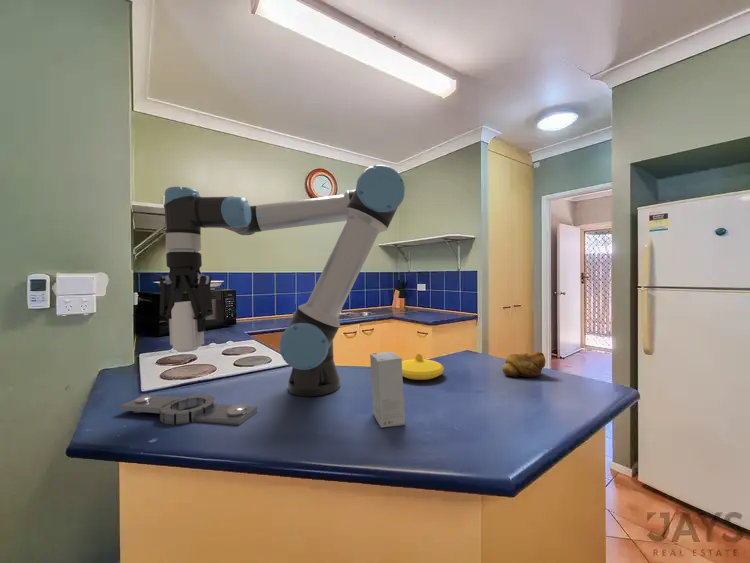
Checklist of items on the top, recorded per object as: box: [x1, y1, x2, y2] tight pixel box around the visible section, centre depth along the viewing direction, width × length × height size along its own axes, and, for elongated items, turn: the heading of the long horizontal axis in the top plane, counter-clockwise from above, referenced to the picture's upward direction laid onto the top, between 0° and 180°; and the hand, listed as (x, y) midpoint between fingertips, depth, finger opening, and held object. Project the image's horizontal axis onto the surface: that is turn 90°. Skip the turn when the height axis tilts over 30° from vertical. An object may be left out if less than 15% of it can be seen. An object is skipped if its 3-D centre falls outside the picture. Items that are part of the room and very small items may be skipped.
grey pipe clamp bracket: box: [119, 394, 258, 426], centre depth 80 cm, size 33×12×3 cm, turn 78°
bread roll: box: [501, 351, 547, 378], centre depth 104 cm, size 13×10×8 cm
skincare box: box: [369, 351, 406, 428], centre depth 74 cm, size 8×6×15 cm
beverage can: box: [171, 300, 202, 353], centre depth 80 cm, size 6×6×12 cm
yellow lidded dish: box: [402, 353, 445, 381], centre depth 105 cm, size 16×16×7 cm
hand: (187, 344), depth 80 cm, fingers closed on beverage can, 6 cm apart
